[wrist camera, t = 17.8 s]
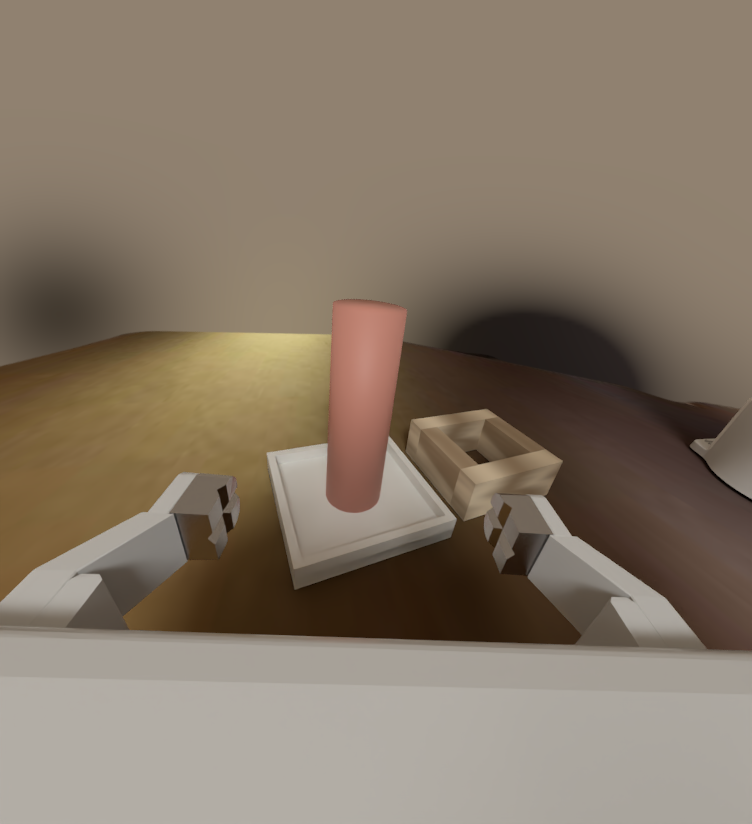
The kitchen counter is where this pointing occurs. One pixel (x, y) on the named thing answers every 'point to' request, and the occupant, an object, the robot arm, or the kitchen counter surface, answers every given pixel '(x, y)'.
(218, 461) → the kitchen counter surface
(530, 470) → the socket block
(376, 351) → the dowel
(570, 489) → the kitchen counter surface
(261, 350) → the kitchen counter surface
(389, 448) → the tray
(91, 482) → the kitchen counter surface
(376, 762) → the robot arm
